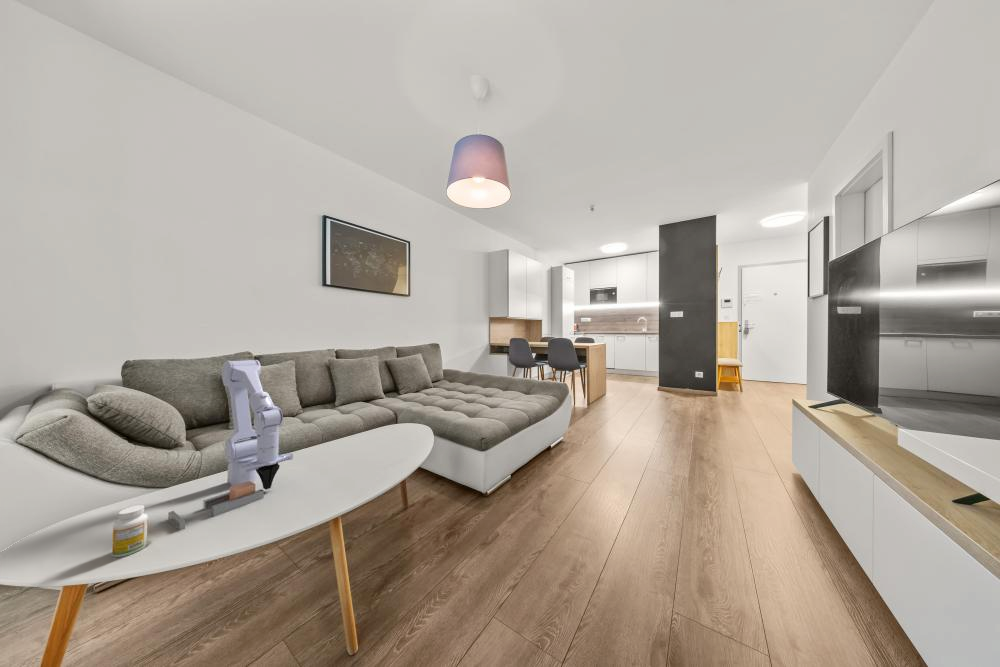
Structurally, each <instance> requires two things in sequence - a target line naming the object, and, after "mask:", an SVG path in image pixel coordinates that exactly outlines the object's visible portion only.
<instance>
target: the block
mask: <svg viewBox="0 0 1000 667" xmlns="http://www.w3.org/2000/svg"><path fill="white" fill-rule="evenodd" d="M255 491H256V483H254V482H250V481H248V482H245V483H241V484H238V485H235V486H229V492H230V495H229V500H232V499H234V498H237V497H240V496H243V495H246V494H249V493H252V492H255Z"/></svg>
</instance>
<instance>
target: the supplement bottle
mask: <svg viewBox="0 0 1000 667" xmlns="http://www.w3.org/2000/svg"><path fill="white" fill-rule="evenodd" d="M144 512H145V506H144V505H142V504H140V505H139V504H138V505H133V506H130V507H126V508H124V509H122V510H120V511H119V512H118V518H117V519H118V520H117V521H116V522H115V523H114V524H113V527H112V553H111V554H112V556H113V557H114V558H121V557H127V556H130V555H132V554H135V553H137V552H140V551H141V550H142V549H144V548H145V547H146V546H147V545H148V528H149V526H148V524H149V523H148V522H149V516H148V514H147V513H144Z"/></svg>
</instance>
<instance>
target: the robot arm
mask: <svg viewBox="0 0 1000 667" xmlns="http://www.w3.org/2000/svg"><path fill="white" fill-rule="evenodd" d="M261 371H262V366H261V363H260V361H259V360H258V359H249V360H226V361H225V362H223V364H222V368H221V380H222V382H223V386H226V387H227V388H228V390H229V391H228V392H229V396H230V404H231V405H230V406H231V414H232V415H231V416H232V423H233V430H234V432H233V433H232V434H231V435H230V436H229V437H227V439H226V440H225V442H224V452H223V453H224V458H225V461H228V465H227V482H225V483H224V484H227V483H230V487H232V486H235V485H238V484H241V483H245V482H248V481H250V482H252V483H254V482H256V481H257V480H258V476H259V478H260V481H261V484H262V489H264V490H265V491H266V490H269V489H271V488H272V485H273V481H274V478H275V477H276V474H277V472H278V470H279V469H280V464H279V463H282V462H286V461H291V460H294V454H293V453H292V452H288V453H283V454H279V442H280V441H279V440H280V439H279V438H280V436H279V435H280V428H279V427H280V425H282V423H283V421H284V415H283V411H282V409H281V408H280V407H278V405H277V406H276V405H275V404H274V402H273V400H272V397H271V396H270V394H269V392H267V391H264V390H263V386H262V383H261V380H260V375H261ZM248 394H249V395H250V397H249V396H248ZM250 407H251V408H250ZM250 410H252V413H253V414H254V417H253V425H254V428H255V429H253V426H252V417H251V411H250Z"/></svg>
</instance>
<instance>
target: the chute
mask: <svg viewBox="0 0 1000 667" xmlns="http://www.w3.org/2000/svg"><path fill="white" fill-rule="evenodd" d="M264 490H265V489H264ZM264 490H263V488H261V489H257V490H255V492H252V493H249V494H246V495H243V496H240V497H237V498H234V499H232V500H229V495H230V491H228V492H225V493H222V494H218V495H215V496H212V497H210V498H207V499H203V500H202V502H203V503H202V505H203V506H202V510H204V511H208V510H210V509H211V516H212V517H214V518H215V517H216V516H217V517H218V516H219V515H221V514H225V513H227V512H230V511H233V510H235V509H238V508H241V507H244V506H246V505H250V504H252V503H254V502H257V501H260V500H262V499H264V494H265V491H264ZM167 516H168V517H167V521H169V522H170V523H171V524H172V525H173V526H174V527H175V528H176V529H177V530H178V531H179V532H180V531H183V530H185V529H186V520H185V519H183V518H182V517H181V516H180V515H179V514H178V513H177V512H175V511H174V510H172V511H168V514H167Z"/></svg>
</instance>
